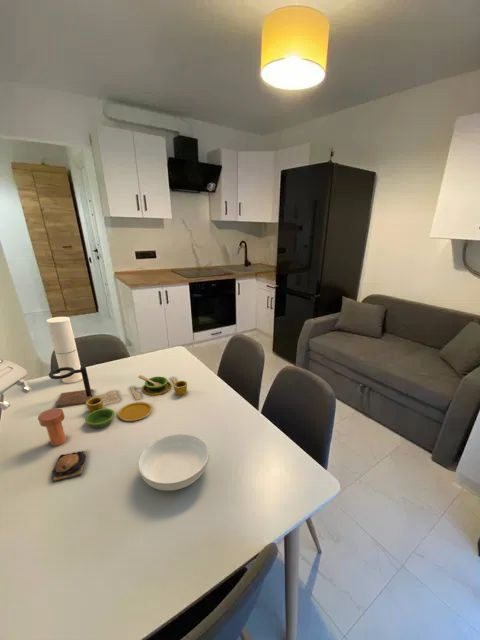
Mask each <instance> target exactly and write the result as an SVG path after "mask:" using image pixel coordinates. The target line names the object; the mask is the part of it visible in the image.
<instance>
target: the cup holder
mask: <svg viewBox="0 0 480 640" xmlns="http://www.w3.org/2000/svg"><path fill="white" fill-rule="evenodd" d="M65 370H67V371H70V372H69V373H68V374H65V375H61V374H60V375H55V374H57V373H60V371H65ZM74 373H81V374H82V382H83V387H84V389H82V390H75V391H67V392H61V393H60V395H59V398H58V400H57V402H56V404H55V407H56V408H63V407H69V406H76V405H83V404H86V402H87V400H89V399H91V398H93V393H94V389H93V388H91V384H90V380H89V375H88V372H87V367H86V366H85V365H84V366H81V367H80V369H79V370H74V369H73V368H71V367H63V368H59V367H58V368H56V369H53V370H51V371H49V373H48V378H50V379H51V380H62V379H63V378H67V377H69V376H71V375H73V374H74Z"/></svg>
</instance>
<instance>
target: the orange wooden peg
mask: <svg viewBox="0 0 480 640" xmlns="http://www.w3.org/2000/svg"><path fill="white" fill-rule="evenodd" d="M37 419H38V423H39V425H40V426H41V427H45V428H46V432H47V435H48V439H49V441H50V445H51V446H53V447H54V446H55V447H56V446H61V445H63V444H64V443H65V442H66V441H67V436H66V434H65V430H64V425H63V423H62V422H63V421H64V420H65V413H64V410H63V409H62V408H60V407H56V408H49V409H46V410H44V411H42V412H41V413H39V415H38V416H37Z"/></svg>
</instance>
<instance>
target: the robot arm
mask: <svg viewBox="0 0 480 640" xmlns="http://www.w3.org/2000/svg"><path fill="white" fill-rule="evenodd" d="M28 375H29V372H28V370H27V369H26V368H23V367H22V366H20V365H18V364H16V363H15V362H13V361H10V360H8V359H0V396H1V395H2V394H4V393H5V392H7V391H8V390H9V389H11V388H13V387H14V386H15V385H16V386H18V387H20V388H21V389H22V390H21V392H22V393H24V394H26V395H27V394H28V393H30V392H31V390H32V388H31V387H30V386H29V385H28V383H27V382H26V380H25V378H26V377H27V376H28ZM10 406H11V404H10V403H9V402H8V401H6V400H5V401H4V402H3V401H0V409H1V410H3V411H6V410H7V409H8V408H10Z"/></svg>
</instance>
